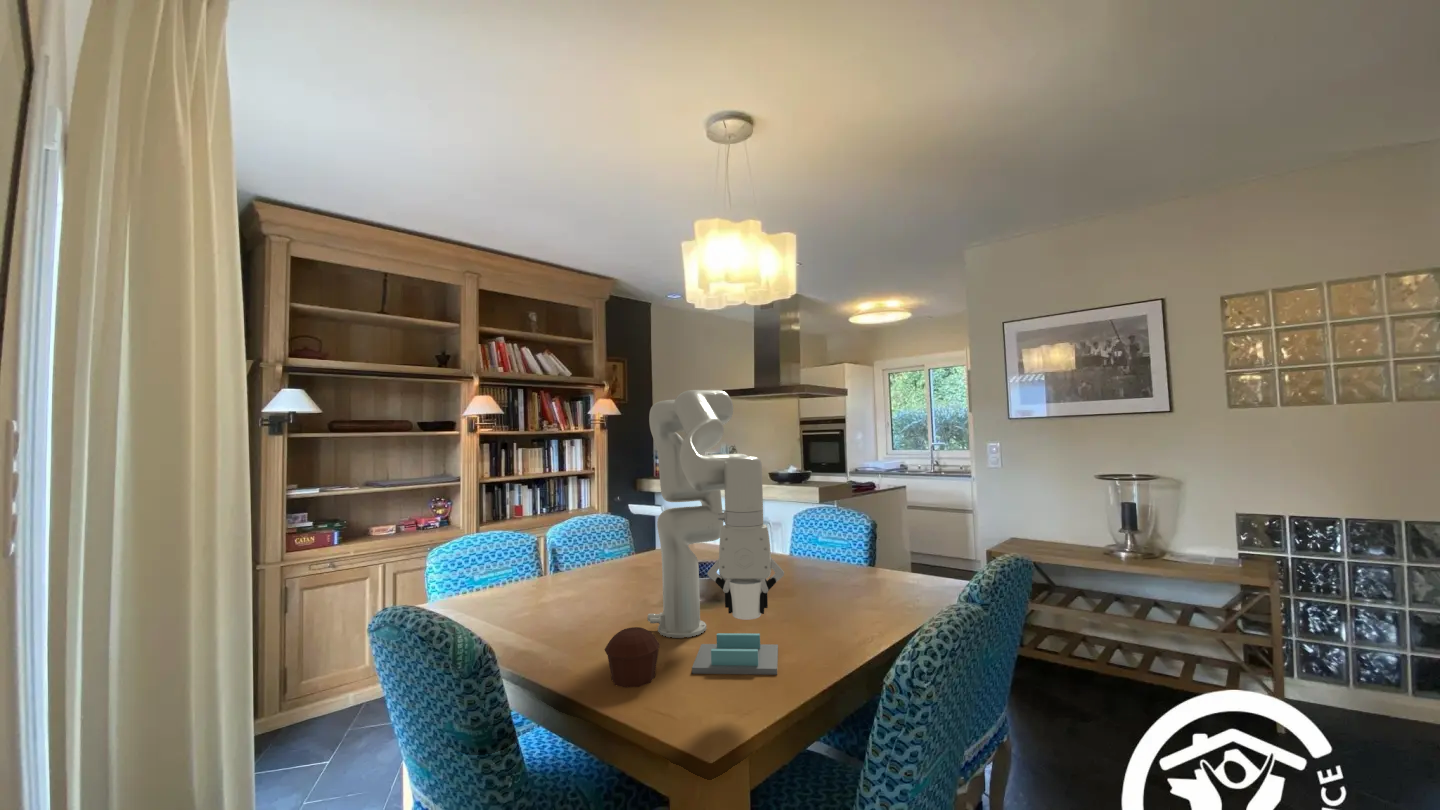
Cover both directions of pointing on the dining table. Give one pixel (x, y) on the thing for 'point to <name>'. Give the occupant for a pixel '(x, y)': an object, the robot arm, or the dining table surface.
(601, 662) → the dining table surface
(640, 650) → the muffin
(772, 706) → the dining table surface
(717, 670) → the clip holder
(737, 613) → the white cylinder
